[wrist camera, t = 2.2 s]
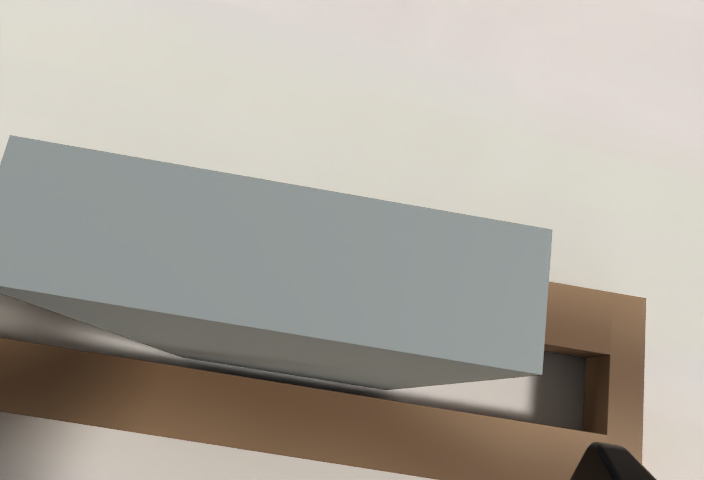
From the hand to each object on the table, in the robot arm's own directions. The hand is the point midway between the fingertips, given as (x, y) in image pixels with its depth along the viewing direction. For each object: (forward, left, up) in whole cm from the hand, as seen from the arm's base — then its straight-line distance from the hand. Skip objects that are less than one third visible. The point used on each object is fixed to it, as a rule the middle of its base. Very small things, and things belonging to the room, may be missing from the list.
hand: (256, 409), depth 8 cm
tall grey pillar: (+1, +1, -10) cm, 10 cm away
